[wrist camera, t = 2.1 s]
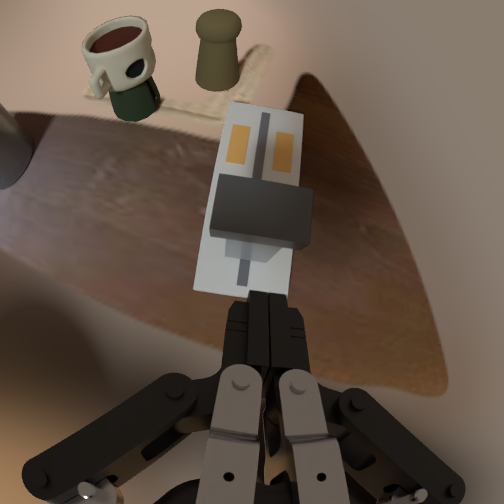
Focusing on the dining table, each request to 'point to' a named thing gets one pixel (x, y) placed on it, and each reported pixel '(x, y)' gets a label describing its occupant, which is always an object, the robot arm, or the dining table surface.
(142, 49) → the character mug
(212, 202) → the fader console
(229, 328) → the robot arm
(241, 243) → the fader knob
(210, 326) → the dining table surface
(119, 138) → the dining table surface
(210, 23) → the cork
